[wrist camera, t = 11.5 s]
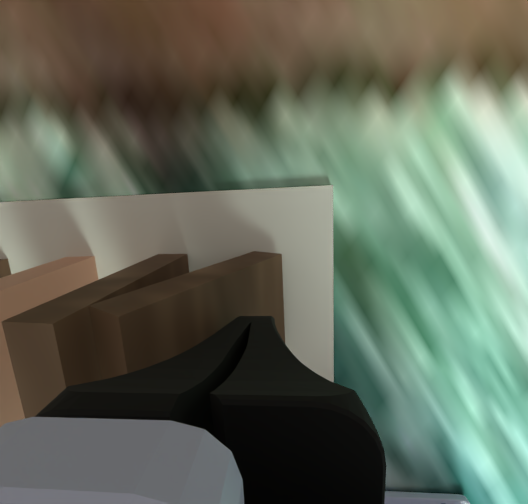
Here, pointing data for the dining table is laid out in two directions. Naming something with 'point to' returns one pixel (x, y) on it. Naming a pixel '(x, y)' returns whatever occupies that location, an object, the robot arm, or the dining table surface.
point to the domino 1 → (27, 297)
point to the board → (196, 243)
